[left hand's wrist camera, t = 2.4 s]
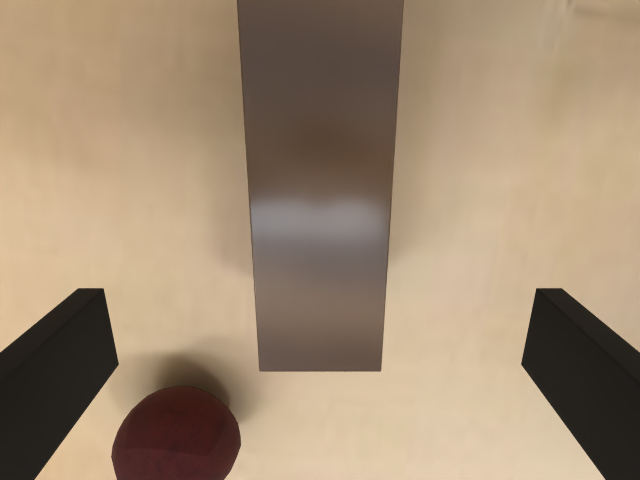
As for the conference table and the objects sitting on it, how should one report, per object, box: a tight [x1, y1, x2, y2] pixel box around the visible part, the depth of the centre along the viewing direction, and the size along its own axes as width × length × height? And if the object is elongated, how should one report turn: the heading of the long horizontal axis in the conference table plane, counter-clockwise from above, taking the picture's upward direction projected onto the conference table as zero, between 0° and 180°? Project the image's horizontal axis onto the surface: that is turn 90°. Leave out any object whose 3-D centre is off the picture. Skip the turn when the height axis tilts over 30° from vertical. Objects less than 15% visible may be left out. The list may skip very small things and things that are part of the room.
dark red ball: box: [111, 386, 241, 480], centre depth 27 cm, size 7×8×7 cm
